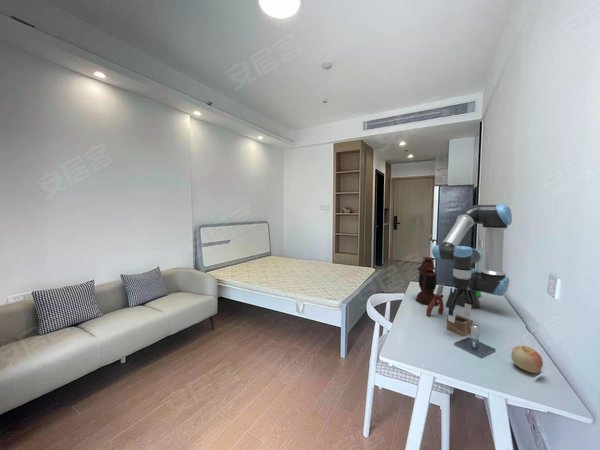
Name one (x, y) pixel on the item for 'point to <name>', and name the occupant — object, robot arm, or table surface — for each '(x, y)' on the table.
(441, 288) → the pliers
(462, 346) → the plate with upright peg
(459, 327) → the brown boxy piece
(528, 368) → the apple
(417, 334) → the table surface
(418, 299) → the lantern
